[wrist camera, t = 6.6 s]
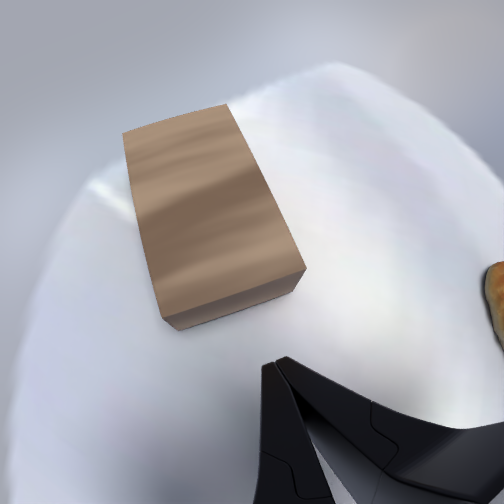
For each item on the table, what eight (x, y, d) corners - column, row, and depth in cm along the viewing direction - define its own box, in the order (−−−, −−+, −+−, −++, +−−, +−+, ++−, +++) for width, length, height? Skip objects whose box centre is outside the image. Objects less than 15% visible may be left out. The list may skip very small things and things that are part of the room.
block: (306, 268, 14) (226, 104, 18) (162, 317, 13) (122, 133, 17) (292, 291, 18) (227, 143, 22) (178, 331, 17) (137, 170, 21)
